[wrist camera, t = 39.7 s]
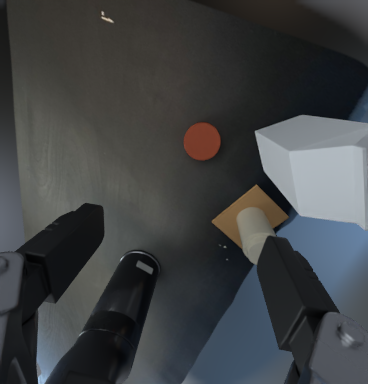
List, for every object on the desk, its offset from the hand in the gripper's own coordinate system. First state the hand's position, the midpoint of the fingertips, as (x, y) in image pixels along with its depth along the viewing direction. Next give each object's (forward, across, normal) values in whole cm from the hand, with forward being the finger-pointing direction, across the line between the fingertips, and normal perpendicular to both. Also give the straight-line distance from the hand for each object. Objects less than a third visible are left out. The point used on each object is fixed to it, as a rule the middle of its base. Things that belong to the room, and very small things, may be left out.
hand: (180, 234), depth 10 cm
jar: (+26, -12, +13) cm, 31 cm away
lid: (+25, 0, 0) cm, 25 cm away
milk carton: (+26, -13, -1) cm, 29 cm away
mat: (+26, -12, +13) cm, 31 cm away
